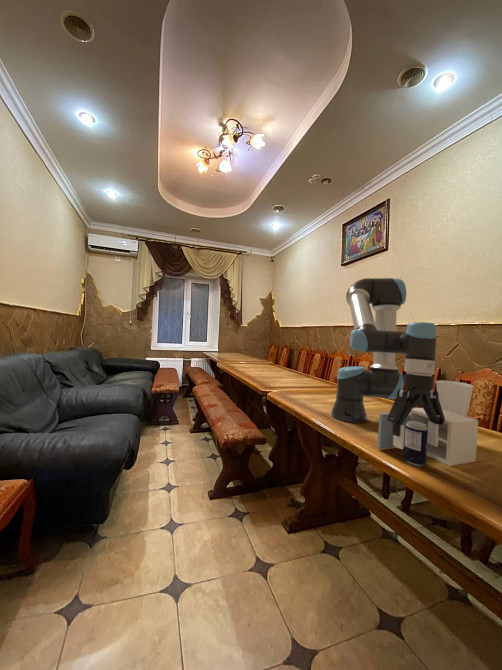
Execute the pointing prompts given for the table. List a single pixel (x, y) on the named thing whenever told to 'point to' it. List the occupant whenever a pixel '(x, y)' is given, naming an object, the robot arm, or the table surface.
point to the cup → (454, 396)
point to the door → (387, 431)
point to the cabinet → (451, 437)
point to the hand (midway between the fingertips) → (415, 446)
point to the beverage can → (415, 443)
